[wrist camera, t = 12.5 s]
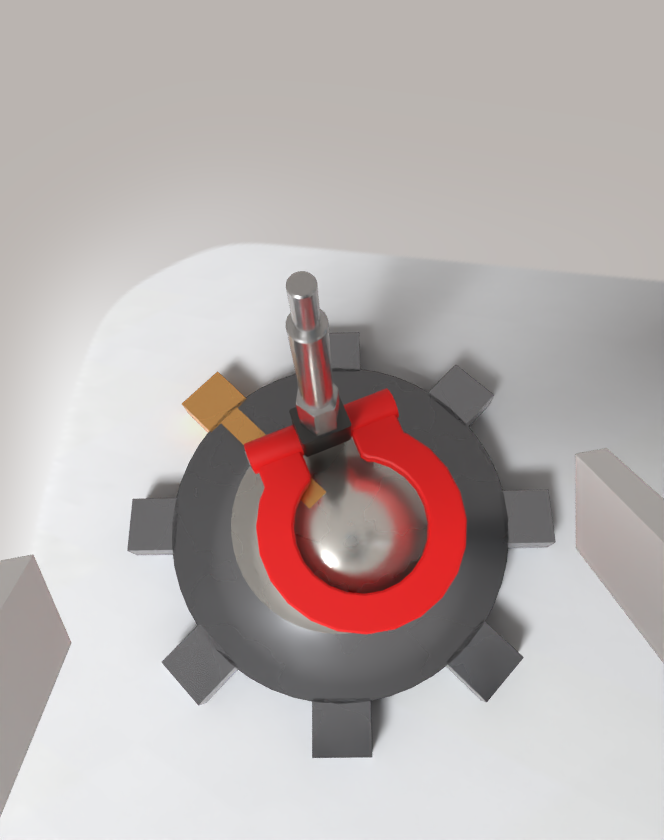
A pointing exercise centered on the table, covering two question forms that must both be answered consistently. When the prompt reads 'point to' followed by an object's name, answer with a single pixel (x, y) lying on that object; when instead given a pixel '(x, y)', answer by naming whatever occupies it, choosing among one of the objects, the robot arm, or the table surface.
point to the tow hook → (376, 442)
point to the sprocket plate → (337, 552)
